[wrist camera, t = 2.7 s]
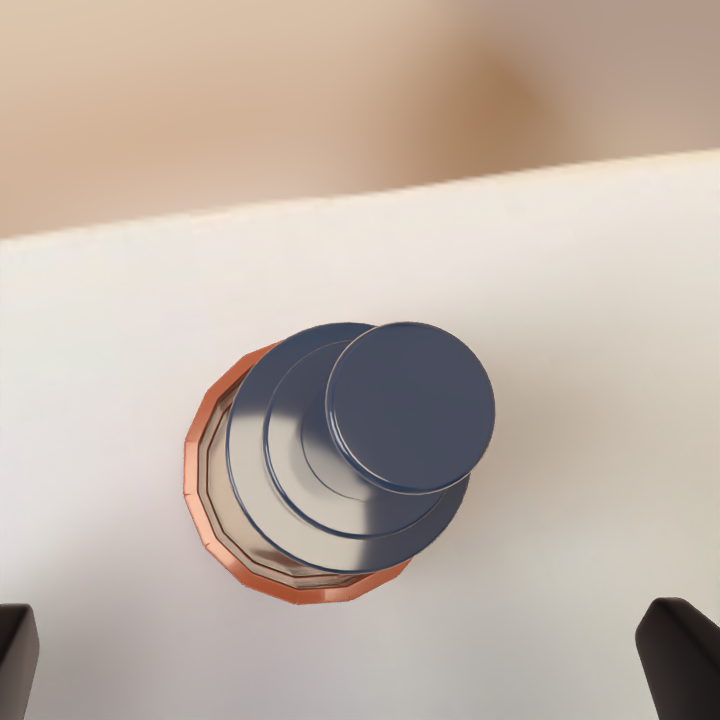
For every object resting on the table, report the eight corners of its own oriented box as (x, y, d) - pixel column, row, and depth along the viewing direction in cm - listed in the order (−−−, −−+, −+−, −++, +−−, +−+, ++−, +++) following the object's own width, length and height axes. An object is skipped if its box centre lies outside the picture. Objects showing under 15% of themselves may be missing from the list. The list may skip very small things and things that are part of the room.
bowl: (370, 619, 18) (399, 642, 15) (156, 540, 18) (136, 546, 14) (438, 411, 20) (476, 391, 17) (246, 334, 20) (247, 298, 16)
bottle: (351, 570, 18) (540, 671, 7) (207, 516, 18) (143, 525, 6) (399, 429, 19) (629, 308, 8) (266, 376, 19) (304, 167, 7)
